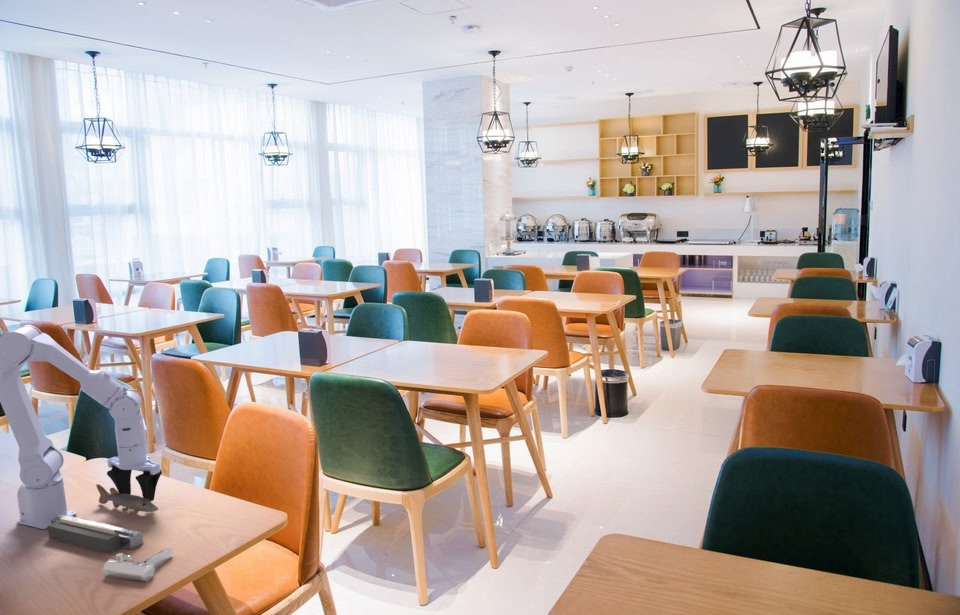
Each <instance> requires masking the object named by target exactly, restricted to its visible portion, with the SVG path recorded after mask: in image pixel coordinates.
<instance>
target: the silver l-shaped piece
mask: <svg viewBox="0 0 960 615" xmlns="http://www.w3.org/2000/svg"><path fill="white" fill-rule="evenodd" d="M173 552H174V551H173V549H172V548H170V547H166V548H164V549H162V550H160V551H159V552H157V553H155V554H154V555H152V556H151V557H149V558H147V559H145V560H143V561H134V560H133V561H132V559H131V555H129V554H124V553H122V552H120V553H119V552H118V553H117V554H116V555H115V556H116V558H113V557H112V558H109V559H108V560H107V561H105V563H104V565H103V568H102V569H103V575H104V576H105V577H109V576H110V578H111V577H112V578H116V577H117V578H118V579H122V578H123V580H124V579H125V580H130V579H131V581H136V580H139V581H140V582H143V581H146V580H148V579H149V578H150V579H152V578H153V577H154V576H155V572H156V571H155V570H156V569H157V568H159V567H160V566H162V565H163V564H164V563H166V562H167V561H169V560H170V559H171V558H172V557H173V556H174V555H173V554H174V553H173ZM169 558H170V559H169ZM168 559H169V560H168ZM165 561H166V562H165ZM161 564H162V565H161ZM151 577H152V578H151ZM150 579H149V580H150ZM149 580H148V581H149ZM146 582H147V581H146Z"/></svg>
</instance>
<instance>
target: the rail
mask: <svg viewBox="0 0 960 615" xmlns="http://www.w3.org/2000/svg"><path fill="white" fill-rule="evenodd" d="M60 518H65V519H69V520H73V521H78V522H82V523H86V524H91V525H95V526H100V527H104V528H108V529H113V530H114V531H115V533H117V534H119V538H120V546H121V548H120V549H126V550H129V551H132V550H133V549H136V548H137V547H140V546H141V545H144V540H143V539H144V537H143V532H142V531H138V530H134V529H129V528H125V527H121V526H118V525H112V524H108V523H103V522H99V521H95V520H90V519H87V518H81V517H77V516H69V515H65V514H64V515H61V514H58V515H56V516H55V519H52V520H51V524H53V523H55V522H57V521H59V520H60Z"/></svg>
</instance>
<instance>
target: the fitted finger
mask: <svg viewBox="0 0 960 615" xmlns="http://www.w3.org/2000/svg"><path fill="white" fill-rule="evenodd" d="M47 533H48V539H49V540H50V541H51V540H52V541H56V542H60V543H63V544H67V545H72V546H76V547H80V548H83V549H87V550H90V551H96V552H99V551H100V553H103V552H104V554H106V555H109V553H110V554H112V553H114V552H115V551H117V550H118V549H122V548H121V546H120V538H119V534H117V533H115V531H114V530H113V529H108V528H104V527H100V526H95V525H91V524H86V523H82V522H78V521H73V520H69V519H65V518H60V520H59V521H57V522H55V523H53V524H50V525H48V528H47Z"/></svg>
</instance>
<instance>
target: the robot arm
mask: <svg viewBox="0 0 960 615" xmlns="http://www.w3.org/2000/svg"><path fill="white" fill-rule="evenodd" d="M27 361H29V362H48V363H50V364H51V365H53V366H54V367H56V368H58V369H59V370H60V371H62V372H64V373H65V374H67V375H68V376H70V377H71V378H72V379H75V380H76V381H78V382H79V385H80V389H81V391H82V392H83V393H85V394H86V395H87V396H89V397H91V399H93V400H94V401H96V402H97V403H99V404H100V405H101V406H103V407H104V408H107V409H108V412H109V415H110V416H111V417H112V418H113V419H114V432H115V440H116V441H115V442H116V448H117V456H113V457H110V458H108V459H107V466H108V468H111V469H110V470H108V471H107V472H106V474H107V475H106V476H108V477H109V478H110V480H111V481H112V483H113V484H114V485H115V486H114V487H115V489H117V491H118V493H124V494H130V495H132V482H131V479H132V478H131V477H132V471H137V472H142V473H141V474H139V475H136V476H135V480H136V481H137V483H138V484H139V486H140V490H141V493H142V497H143V498H146V499H148V500H150V501H151V502H153V501H154V500H155V496H156V495H155V494H156V490H157V485H158V483H159V480H160V477H161V475H162V474H163V472H162V469H161V465H160V463H157V462H155V461H153V460H151V456H149V455H147V452H146V451H147V450H146V443H145V434H144V425H143V420H142V414H141V413H142V412H141V411H140V409H141V407H142V404H143V400H142V396H141V395H140V394H139V393H138V392H137V390H136V389H133V388H129V387H128V386H126V385H124V386H123V385H122V384H121V383H119V382H117V381H116V380H115V379H114V378H112V377H111V376H112V374H111V373H110V372H109V371H107V370H106V371H105V372H104V371H103V370H101V369H98V370H92V369H90V368H89V367H87V366H86V365H85V364H84V363H83V362H82V361H80V359H78V358H77V357H75V356H74V355H72V353H70V352H69V351H68V350H66V349H65V348H64V347H62V346H61V345H60V344H59V343H58V342H57V341H55V340H54V339H53V338H52V337H51V336H50V335H49V334H47V333H45V332H42V331H41V330H40V329H39V328H38V327H36V326H34V325H30V324H25V325H24V324H23V325H19V326H18V327H16V328H15V329H13V330H11V331H7V332H6V333H4V334H3V335H1V336H0V404H1V407H2V409H3V412H4V415H5V416H6V419H7V422H8V424H9V426H10V429H11V431H12V433H13V435H14V439H15V440H16V442H17V446H18V448H19V449H18V457H17V458H18V459H17V460H18V463H19V467H20V469H19V470H20V471H19V479H20V481H21V483H22V484H21V485H20V486H19V488H18V490H17V494H16V497H17V503H18V504H17V505H18V510H19V518H20V519H17V520H16V523H17V524H20V525H25V526H27V527H28V526H29V527H31V528H32V527H33V528H37V529H41V530H45V529H48V525H50V524H51V520H52V519H55V516H56V515H58V514H61V515H64V514H65V515H69V516H73V517H75V516H76V515H77V512H76V511H72V510H68V507H67V501H66V492H65V485H64V479H63V478H64V477H63V474H62V473H61V471H60V469H61V468H62V467H63V466H64V465H63V464H64V460H65V459H64V455H63V453H62V452H61V450H59V449H57V448H56V447H55V445H54V444H53V440H51V439H50V438H49V437H47V436H46V435H45V432H44V430H43V427H42V424H41V423H40V419H39V417H38V415H37V413H36V409H35V408H34V406H33V403H32V400H31V398H30V395H29V393H28V390H27V388H26V384H25V383H24V381H23V378H22V376H21V370H22V368H23V367H24V365H25V363H26V362H27Z"/></svg>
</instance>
